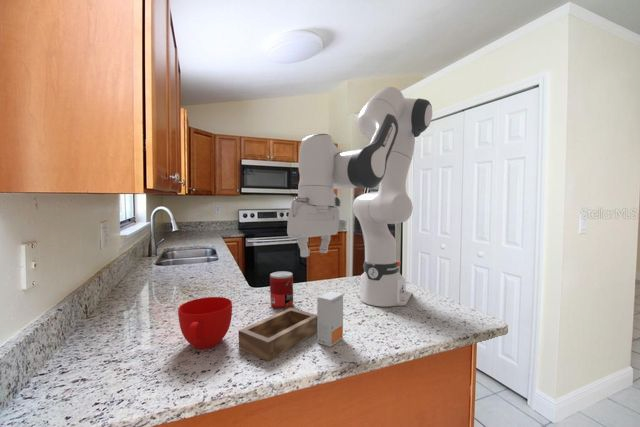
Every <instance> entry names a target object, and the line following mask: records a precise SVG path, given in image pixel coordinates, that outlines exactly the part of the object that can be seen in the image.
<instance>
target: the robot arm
mask: <svg viewBox="0 0 640 427" xmlns="http://www.w3.org/2000/svg"><path fill="white" fill-rule="evenodd" d="M403 94H404V93H402V92H401V90H400V89H398V88H397V87H394V86H385V87H384V88H381V89H380V90H378V91H377V92H376V93H375V94H373V95H372V97H371V98H370V99H369V100H368V101H367V102H366V103H365V105H364V106H363V107H362V109H361V110H360V112H359V114H358V117H357V125H358V126H357V127H358V129H359V131H360V132H361V134H362V135H363V136H364V137H365V138H366V139H368V140H370V142H369V143H368V144H367V145H366V146H363V147H359V148H357V149H351V150H346V151H342V150H341V149H339V148H338V146H336V145H335V143H334V142H333V137H332V135H331V134H328V133H317V134H312V135H311V134H310V135H308V136H306V137H304V138H303V139H302V140H301V143H300V145H299V150H298V151H299V154H298V173H299V181H298V187H297V188H298V189H297V196H296V197H295V198H294V199H293V200H292V202H291V206H290V208H289V210H288V216H287V226H286V227H287V228H286V233H287V236H288V237H289V238H291V239H292V238H293V239H297V241H296V242H297V245H298V248H299V250H300V251H299V252H300V253H299V254H300V255H299V256H300V257H301V258H308V257H310V255H311V253H310V252H311V249H310V248H308V243H309V238H314V237H316V238H317V237H320V239H321V243H320V245H319V248H318V250H319V251H318V252H319V253H321V254H326V253H329V245H330V242H331V236H333V235H338V233H339V232H338V231H339V230H340V229H339V228H340V209H339V208H340V207H341V206H342V205H341V204H342V201H341V199H340V198H339V197H338V196H337V194H336V193H335V192H334V191H335V190H339V189H340V190H342V189H343V190H344V189H354V188H355V189H358V188H360V189H374V188H375V187H377V186H378V185H379V187H378V190H377V192H366V193H362V194H360V195H358V196H357V197H356V198H355V199H354V200H353V203H352V212H353V215H354V216H355V217H356V219H357V220H358V222H359V225H360V228H361V231H362V235H363V240H364V261H363V273H362V274H361V275H360V284H359V285H360V288H359V292H357V293H356V296H357V297H358V298H359V299H360V301H361V302H363V303H364V304H367V305H370V306H373V307H375V306H376V307H394V306H407V305H408V303H409V300H410V298H411V296H413V293H412V292H413V291H412V290H409V289H407V288H406V287H407V286H406V278H404V276H403V275H402V274H401V273H400V272H399V271H400V270H399V267H401V261H400V260H397V241H396V238H395V237H394V235H393V234H392V233H391V231H390V229H389V227H388V224H389V225H397V224H400V223H405V222H407V221H408V220H409V219H410V218H411V216H412V214H413V208H414V207H413V201H412V199H411V198H410V197H409V195H408V194H407V190H406V188H407V187H406V181H407V177H408V174H409V170H410V167H411V163H412V159H413V156H414V150H415V144H416V143H415V142H416V138H418V137H419V136H420V135H421V134H422V133H423V132H425V131H426V130H427V129H428V127H429V126H430V124H431V122H432V118H433V108H432V104H431V102H430V100H428V99H424V98H410V97H409V98H408V97H407V98H406V97H404V95H403Z"/></svg>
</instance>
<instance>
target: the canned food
mask: <svg viewBox="0 0 640 427" xmlns="http://www.w3.org/2000/svg"><path fill="white" fill-rule="evenodd" d="M293 274H294V273H293V272H291V271H284V270H283V271H280V270H279V271H275V272H272V273H270V274H269V286H270V287H269V290H270V291H269V294H270V295H269V296H270V297H269V298H270V306H271V307H272V308H274V309H279V308H280V309H281V308H283V309H289V308H292V306H293V304H294V275H293ZM280 309H279V310H280Z"/></svg>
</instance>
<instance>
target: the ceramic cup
mask: <svg viewBox="0 0 640 427" xmlns="http://www.w3.org/2000/svg"><path fill="white" fill-rule="evenodd" d="M177 314H178V315H177V316H178V323H179V328H180V332H181V333H182V336H183V337H184V339H185V340H186V342H187V343H188V344H190V345H191V346H193V348H195V349H196V350H207V349H211V348H214V347H216V346H218V345H219V344H220V343H221V341H222V340H223V339H224V337H225V336H226V334H227V333H228V332H229V329H230V326H231V322H232V316H233V315H232V314H233V301H232V300H231V299H230V298H228V297H227V298H226V297H224V296H222V297H221V296H210V297H209V296H208V297H207V296H206V297H201V298H195V299H192V300H189V301H185V302H184V303H182V304H181V305H179V307H178V309H177Z"/></svg>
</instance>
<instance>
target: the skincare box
mask: <svg viewBox="0 0 640 427" xmlns="http://www.w3.org/2000/svg"><path fill="white" fill-rule="evenodd" d="M316 300H317V302H316V303H317V304H316V306H317V307H316V308H317V309H316V310H317V314H316V315H317V333H316V335H317V338H316V339H317V340H316V342H317V343H318V344H320V345H324V346H326V347H329V348H330V347H333V346H334V345H335V344H337V343H338V342H340V341H342V340H343V339H344V294H343V293H339V292H334V291H328V292H326V293H322V295H320V296H317V298H316Z"/></svg>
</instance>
